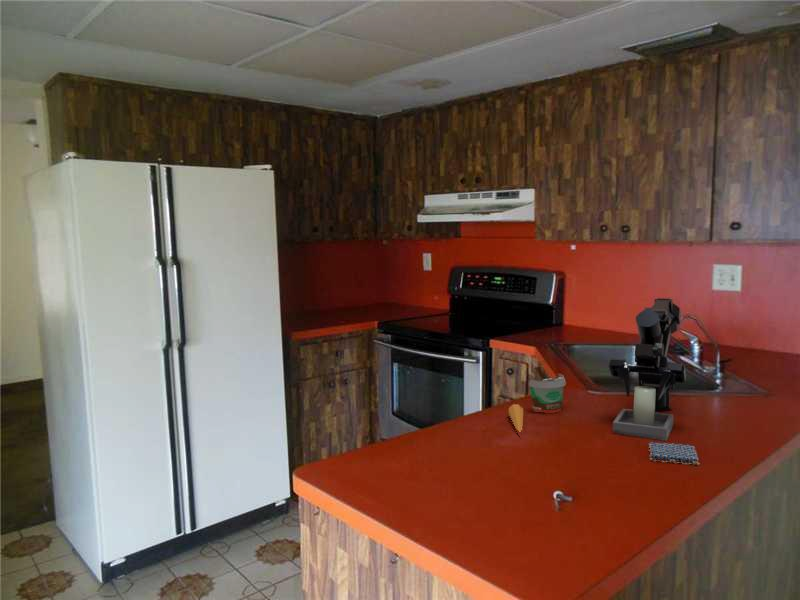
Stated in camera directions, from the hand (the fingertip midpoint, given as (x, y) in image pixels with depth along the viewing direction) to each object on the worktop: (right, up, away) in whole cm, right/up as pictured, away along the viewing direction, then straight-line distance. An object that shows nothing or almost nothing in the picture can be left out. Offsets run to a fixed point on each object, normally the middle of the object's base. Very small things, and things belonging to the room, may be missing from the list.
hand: (642, 397), depth 155 cm
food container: (-19, -8, +21) cm, 29 cm away
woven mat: (0, -12, -16) cm, 20 cm away
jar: (+1, -8, +2) cm, 8 cm away
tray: (+1, -9, +2) cm, 9 cm away
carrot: (-32, -10, +8) cm, 34 cm away
